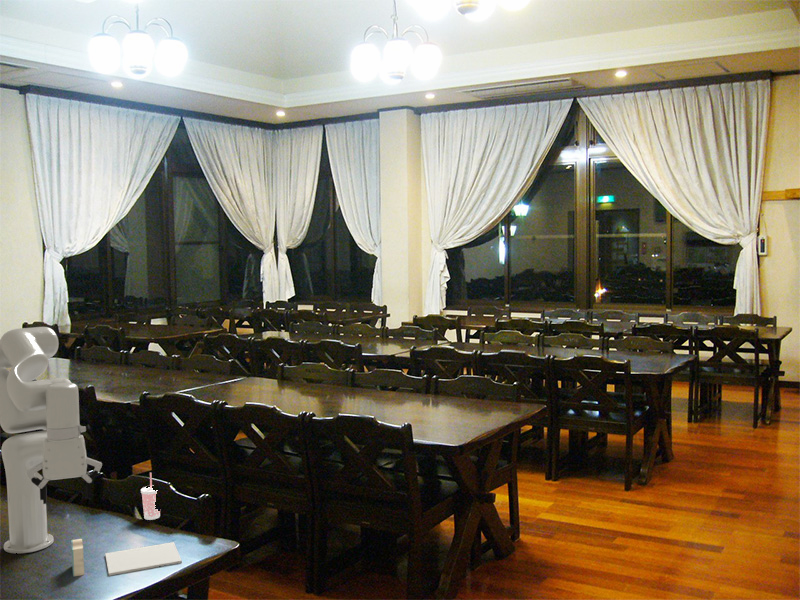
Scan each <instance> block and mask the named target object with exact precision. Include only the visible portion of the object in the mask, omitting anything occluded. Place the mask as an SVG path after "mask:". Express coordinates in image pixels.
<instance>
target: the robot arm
mask: <svg viewBox="0 0 800 600" xmlns="http://www.w3.org/2000/svg"><path fill="white" fill-rule="evenodd" d="M59 344H60V343H59V337H58V335H57V333H56V332H55V331H54V329H52V328H51V327H48V326H36V327H35V326H34V327H23V328H14V329H11V330H9V331H6V332H5V333H4V334H3V335H2V336H1V337H0V427H1V429H2V430H3V431H4V432H5V433H7V434H16V435H13V436H10V437H9V438H7V439H6V440H4V441H3V443H2V444H1V445H2V446H1V448H0V449H1V458H2V461H3V462H2V463H3V466H4V469H5V470H4V471H5V478H6V491H7V511H8V530H9V531H8V534H9V539H8V540H7V541H5V542H4V544H3V550H4V551H5V552H7V553H10V554H16V553H17V554H27V553H33V552H37V551H41V550H43V549H46V548H48V547H50V546H51V545H52V544H53V543H54V541H55V539H54V536H53V535H52V534H50V533H48V522H47V521H48V518H47V504H48V503H47V502H48V495H47V494H48V493H47V492H48V489H47V484H48V482H49V481H55V480H56V481H57V480H63V479H72V478H73V479H74V478H80V477H81V478H82V479H83V480H84V494H85V495H84V497H85V499H87V500H88V499H89V495H91V494H92V482H93V480H95V478H96V477H97V476H99V472H100V471H101V469H102V466H103V463H102V461H98V460H96V459H93V458H90V457H88V456H87V448H86V442H85V441H86V440H85V438H84V435H83V434H82V433H84V432H86V431H87V426H85V425H84V426H83V425H81V424H80V402H79V401H80V396H79V387H78V385H77V384H76V383H73V382H72V381H71V380H70V379H69V378H67V377H55V378H46V379H38V378H39V377H40V376H42V375H43V374H44V373H45V372H46V370H47V369H48V366H49V359H51V358H53V356H55V355H56V354H57V352H58V349H59ZM8 369H9V370H8ZM36 379H38V380H36ZM36 430H37V431H36ZM38 430H39V431H38ZM25 432H26V433H25ZM18 433H20V434H18ZM89 465H90V466H92V467H94V469H93V471H91V472H90V473H89V472H88V471H87V469H88V466H89ZM41 470H42V475H41V474H40V473H39V471H41Z"/></svg>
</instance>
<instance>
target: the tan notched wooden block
mask: <svg viewBox="0 0 800 600" xmlns="http://www.w3.org/2000/svg"><path fill="white" fill-rule="evenodd" d="M70 541H71V561H72V562H71V564H72V565H71V566H72V577H74V578H75V577H79V576H84V575H85V563H84V562H85V561H84V545H83V538H77V539H71V540H70Z"/></svg>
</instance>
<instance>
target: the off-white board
mask: <svg viewBox="0 0 800 600" xmlns="http://www.w3.org/2000/svg"><path fill="white" fill-rule="evenodd" d="M104 554H105V560H106V568H107V573H108V576H115V575H122V574H125V573H131V572H132V573H133V572H139V571H143V570H148V569H155V568H160V567H159V566H161V567H165V566H164V565H167V566H170V565H169V564H172V565H177V563H178V564H182V558H181V556H180V553H179V551H178V549H177V546H176V544H175V542H174V541H171V542H166V543H160V544H154V545H149V546H148V545H147V546H142V547H141V546H140V547H135V548H130V549H124V550H118V551H117V550H116V551H111V552H105V553H104Z"/></svg>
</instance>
